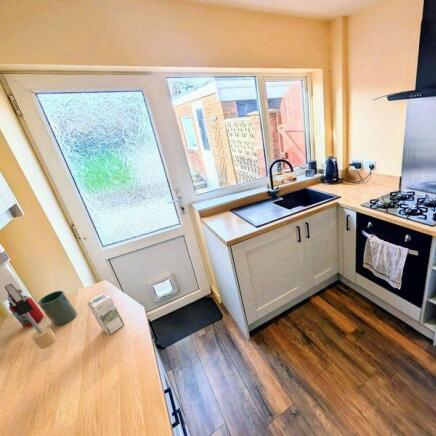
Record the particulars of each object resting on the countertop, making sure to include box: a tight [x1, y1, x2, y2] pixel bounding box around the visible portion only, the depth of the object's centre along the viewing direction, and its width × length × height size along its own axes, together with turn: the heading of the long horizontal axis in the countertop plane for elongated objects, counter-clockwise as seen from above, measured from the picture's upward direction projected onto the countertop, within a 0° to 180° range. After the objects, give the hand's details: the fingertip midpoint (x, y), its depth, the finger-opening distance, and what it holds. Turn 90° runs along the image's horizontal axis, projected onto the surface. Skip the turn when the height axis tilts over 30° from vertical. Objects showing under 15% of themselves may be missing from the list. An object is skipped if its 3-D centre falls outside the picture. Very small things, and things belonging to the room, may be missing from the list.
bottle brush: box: [12, 298, 58, 350], centre depth 77 cm, size 4×4×20 cm
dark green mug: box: [37, 290, 78, 327], centre depth 101 cm, size 8×8×12 cm
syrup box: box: [87, 293, 125, 336], centre depth 94 cm, size 6×6×14 cm
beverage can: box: [8, 295, 45, 328], centre depth 102 cm, size 7×7×12 cm
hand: (24, 310), depth 75 cm, fingers closed on bottle brush, 2 cm apart
